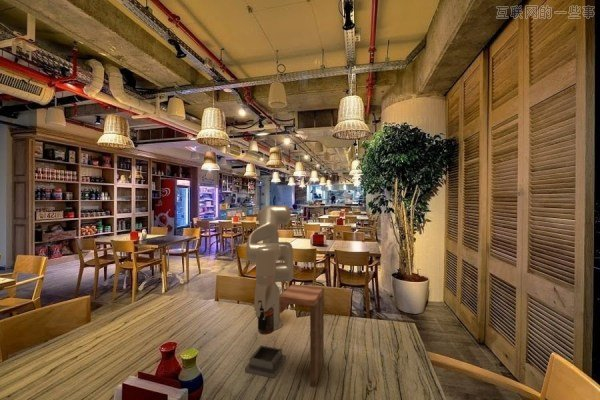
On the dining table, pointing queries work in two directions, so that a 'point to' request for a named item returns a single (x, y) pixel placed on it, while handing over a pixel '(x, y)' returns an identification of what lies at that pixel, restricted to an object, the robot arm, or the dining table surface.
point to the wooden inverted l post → (316, 302)
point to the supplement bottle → (268, 322)
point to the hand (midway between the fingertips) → (266, 324)
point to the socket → (266, 362)
